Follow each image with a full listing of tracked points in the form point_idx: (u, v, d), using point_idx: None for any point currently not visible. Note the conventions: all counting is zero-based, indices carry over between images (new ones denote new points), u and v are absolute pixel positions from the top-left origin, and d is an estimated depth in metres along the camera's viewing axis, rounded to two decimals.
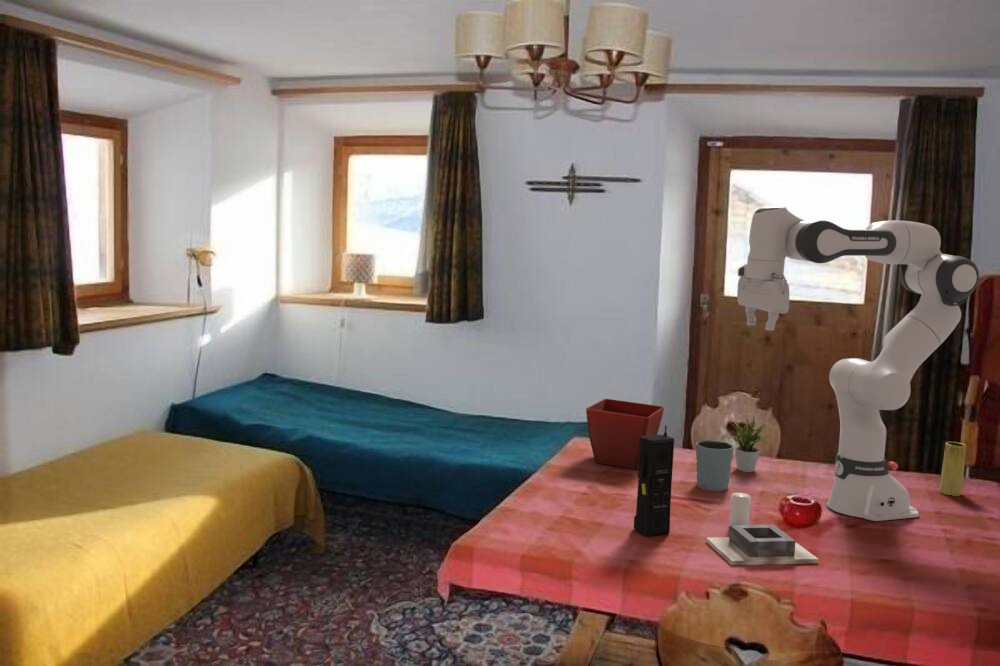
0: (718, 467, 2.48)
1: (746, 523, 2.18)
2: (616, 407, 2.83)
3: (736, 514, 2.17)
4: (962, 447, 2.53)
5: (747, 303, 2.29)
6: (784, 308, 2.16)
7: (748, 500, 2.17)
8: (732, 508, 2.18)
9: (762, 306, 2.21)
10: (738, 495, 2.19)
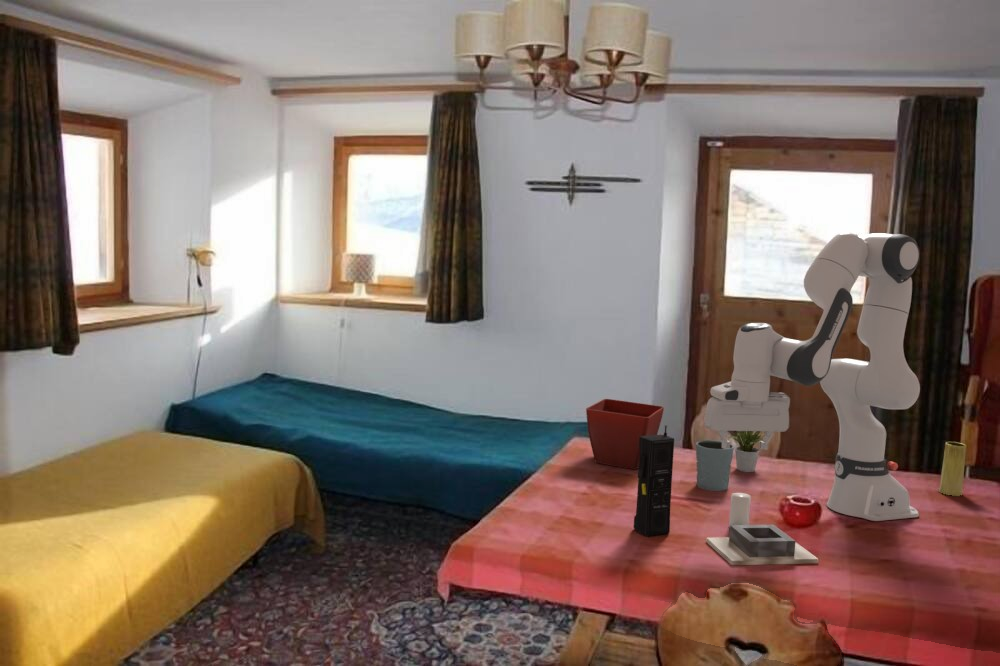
0: (718, 467, 2.48)
1: (746, 523, 2.18)
2: (616, 407, 2.83)
3: (736, 514, 2.17)
4: (962, 447, 2.53)
5: (732, 427, 2.14)
6: None
7: (748, 500, 2.17)
8: (732, 508, 2.18)
9: (764, 427, 2.15)
10: (738, 495, 2.19)
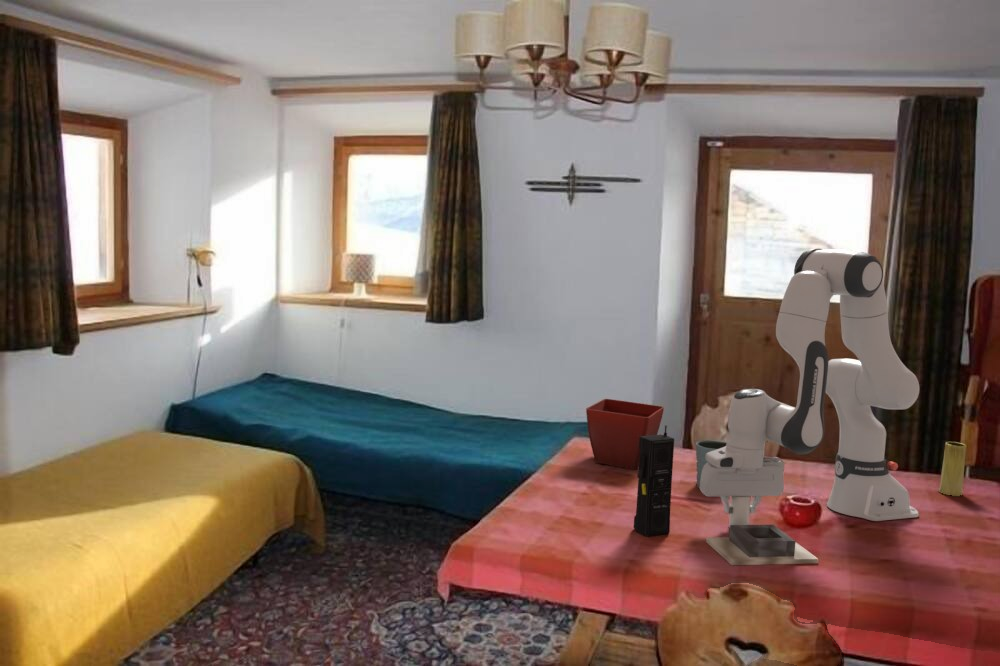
0: None
1: (746, 523, 2.18)
2: (616, 407, 2.83)
3: (736, 514, 2.17)
4: (962, 447, 2.53)
5: (727, 493, 2.16)
6: None
7: (748, 500, 2.17)
8: None
9: (759, 491, 2.17)
10: None
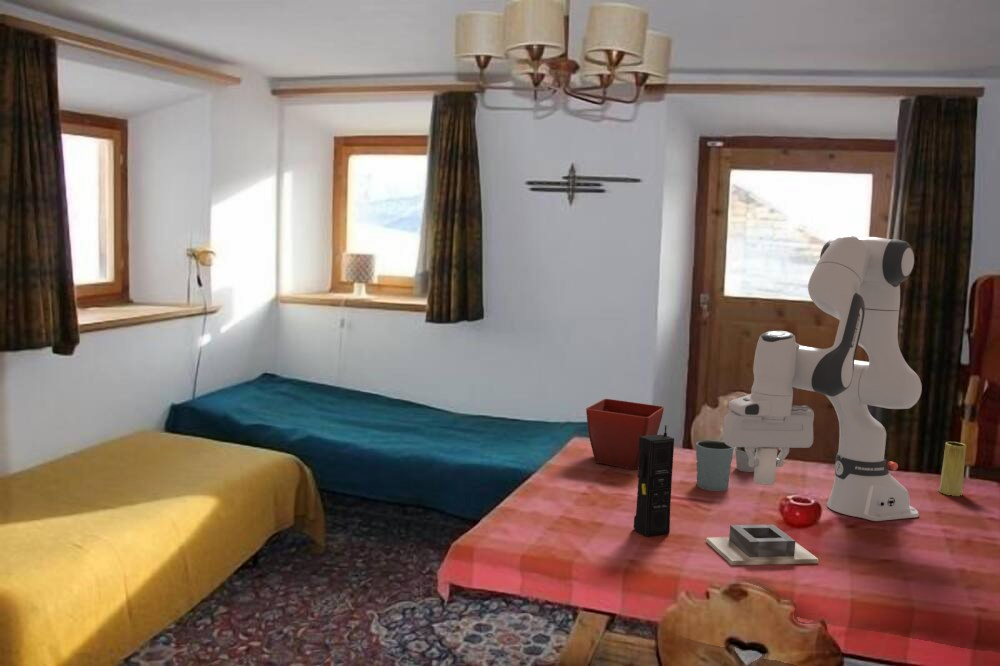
0: (718, 467, 2.48)
1: (772, 477, 2.01)
2: (616, 407, 2.83)
3: (762, 467, 2.00)
4: (962, 447, 2.53)
5: (752, 444, 1.99)
6: None
7: (774, 451, 2.00)
8: None
9: (787, 443, 2.00)
10: None
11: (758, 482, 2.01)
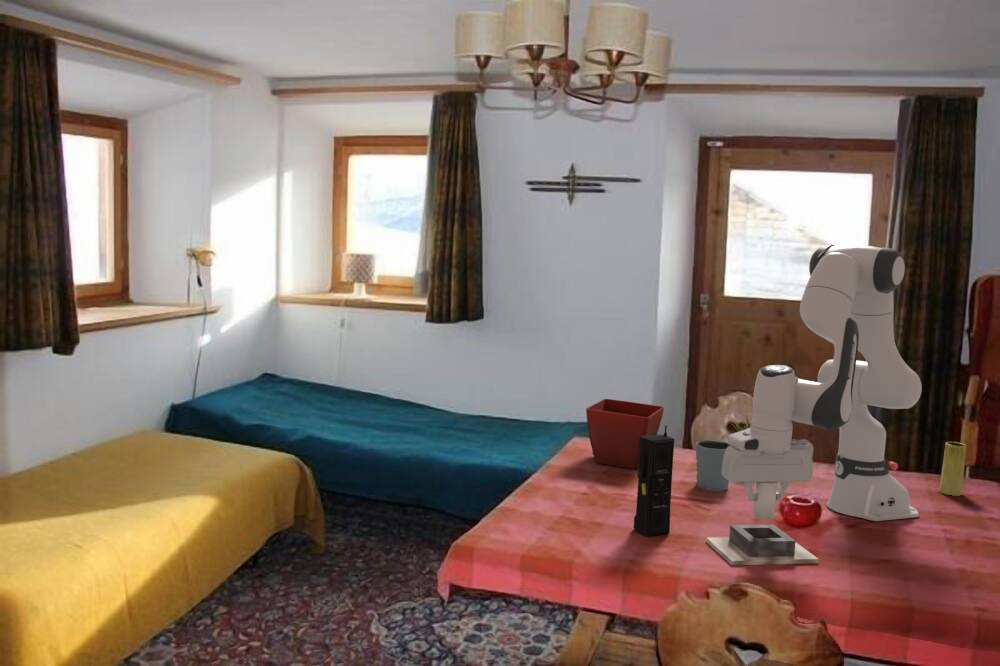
0: (718, 467, 2.48)
1: (772, 511, 2.00)
2: (616, 407, 2.83)
3: (761, 501, 2.00)
4: (962, 447, 2.53)
5: (752, 478, 1.99)
6: None
7: (774, 485, 2.00)
8: None
9: (786, 477, 2.00)
10: None
11: (758, 517, 2.01)
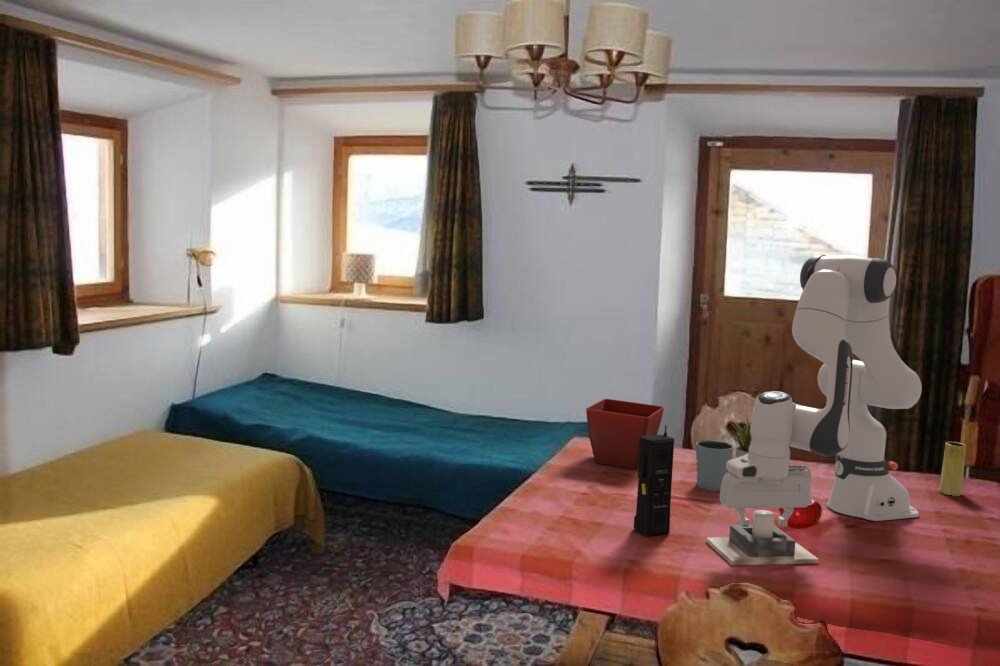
0: (718, 467, 2.48)
1: None
2: (616, 407, 2.83)
3: (759, 533, 2.01)
4: (962, 447, 2.53)
5: (750, 505, 2.00)
6: None
7: (771, 518, 2.01)
8: (754, 527, 2.02)
9: (784, 503, 2.01)
10: (761, 512, 2.03)
11: None
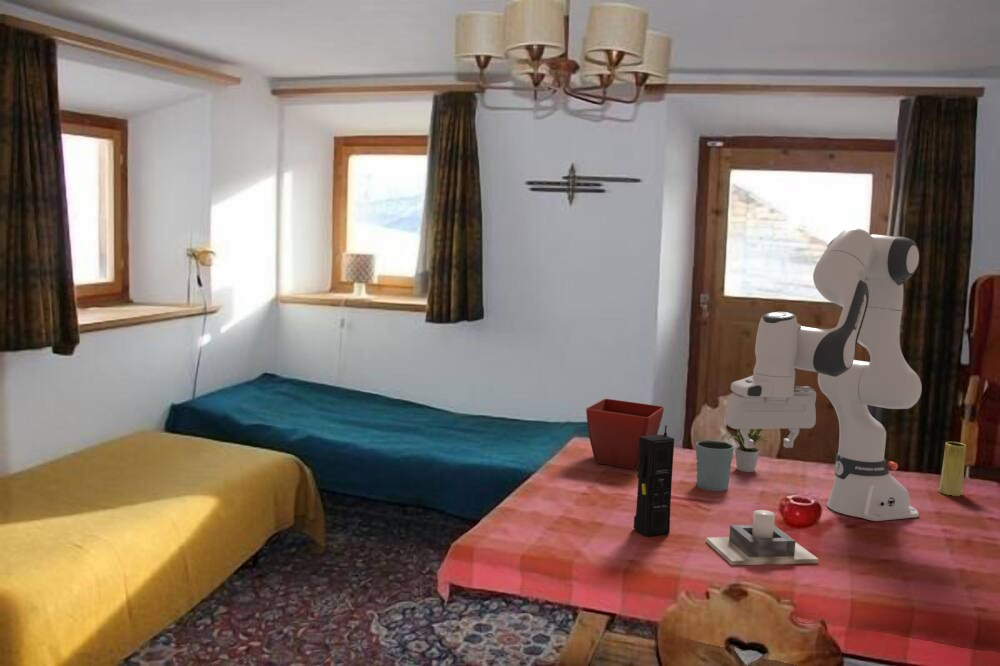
0: (718, 467, 2.48)
1: None
2: (616, 407, 2.83)
3: (759, 533, 2.01)
4: (962, 447, 2.53)
5: (755, 425, 1.99)
6: None
7: (771, 518, 2.01)
8: (754, 527, 2.02)
9: (789, 423, 2.00)
10: (761, 512, 2.03)
11: None
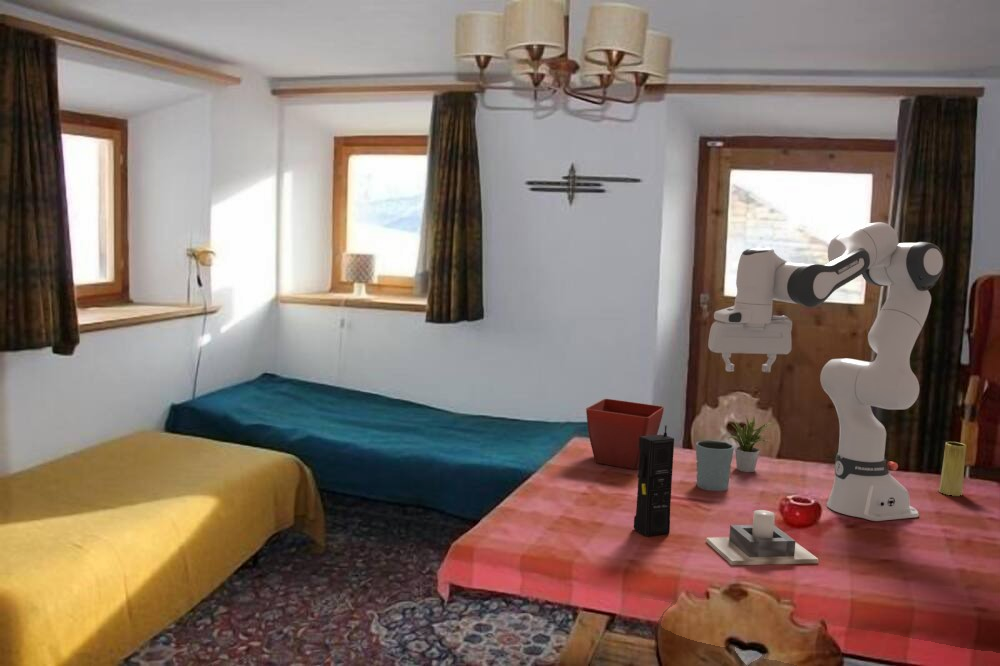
0: (718, 467, 2.48)
1: None
2: (616, 407, 2.83)
3: (759, 533, 2.01)
4: (962, 447, 2.53)
5: (736, 349, 2.18)
6: None
7: (771, 518, 2.01)
8: (754, 527, 2.02)
9: (767, 349, 2.19)
10: (761, 512, 2.03)
11: None
